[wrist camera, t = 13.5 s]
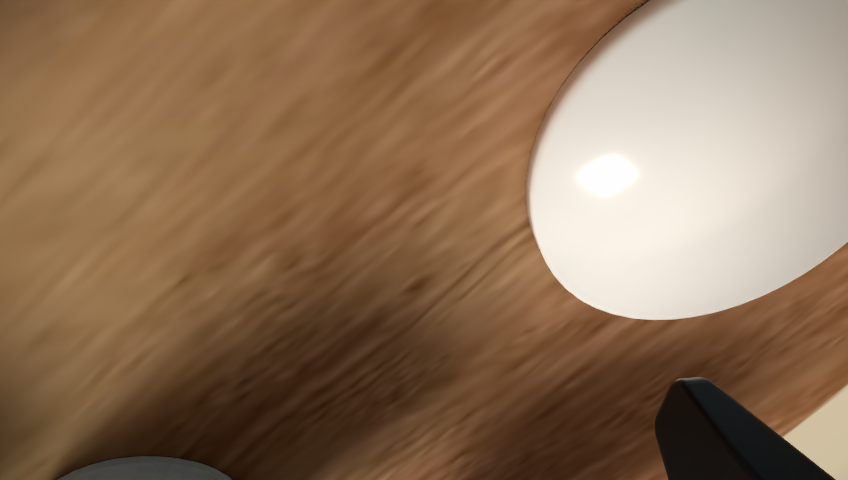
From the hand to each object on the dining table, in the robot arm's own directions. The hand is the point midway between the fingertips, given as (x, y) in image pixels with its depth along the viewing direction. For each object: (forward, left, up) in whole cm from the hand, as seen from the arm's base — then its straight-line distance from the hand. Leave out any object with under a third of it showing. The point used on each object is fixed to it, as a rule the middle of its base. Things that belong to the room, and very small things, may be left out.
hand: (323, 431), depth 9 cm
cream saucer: (+14, -5, -13) cm, 20 cm away
